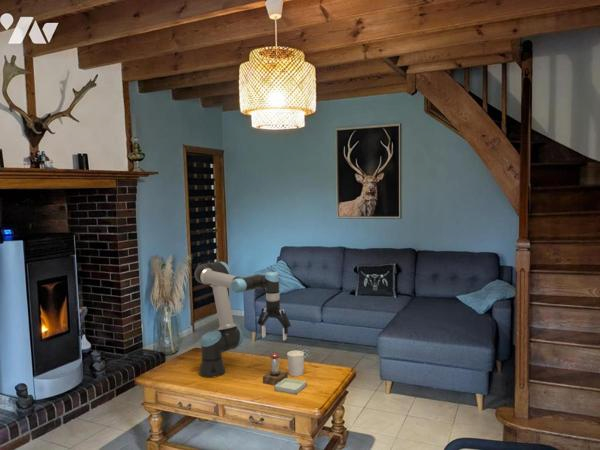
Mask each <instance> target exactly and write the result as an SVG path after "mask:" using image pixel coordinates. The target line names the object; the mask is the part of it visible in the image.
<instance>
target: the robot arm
mask: <svg viewBox="0 0 600 450" xmlns="http://www.w3.org/2000/svg"><path fill="white" fill-rule="evenodd" d="M194 278H195V281H197V282H198V283H200V284H203V285H209V286H210V287H211V288H212V293H213V297H214V303H215V307H216V313H217V318H218V323H219V327H218V328H217V330H213V331H207V332H205V333H203V334H202V336H201V339H200V347H201V364H200V368H199V370H198V371H199V373H200V374H199V376H200V375H202V376H201V377H203V376H207V377H206V378H214V377H213V376H217V377H219V376H218V375H220V376H223V375H224V374H225V373H226V366H225V363H224V361H223V354H222V353H225V352H227V351H231V350H235V349H237V348H238V347H240V346H241V344H242V343H243V339H244V337H243V332H242V330H241V328H239V327H238V326H237V324H236V323H234V317H233V311H232V308H231V303H230V298H229V292H228V289H230V290H232V291H233V292H234V293H235V294H237V293H244V292H248V291H252V290H257V289H264V290H265V299H266V301H265V302H266V304H265V305H266V307H263V308H261V312H260V315H259V318H258V320H257V325H259V326H260V332H261V337H262V338H265V337H267V333H266V330H267V329H266V323H267V321H268V320H269V319H270V318H276V319H277V320H278V322H279V323H280V324H281V326H282V327H283V328H282V341H285V340H287V339H288V338H287V337H288V332H289V328H290V327H291V322H290V320H289V318H288V316H287V314H286V309H284V308H283V309H280V307H281V302H280V301H281V300H280V298H281V295H280V276H279V272H278V271H268V272H265V273H264V274H260V273H253V274H251V275H249V276H245V277H242V276H237V275H232V274H231V269H230V267H229V265H228V264H227V263H226V262H224V261H214V262H208V263H203V264H200V265H198V266H197V267H196V269H195V271H194ZM266 313H267V314H266ZM265 314H266V315H265ZM222 374H223V375H222Z"/></svg>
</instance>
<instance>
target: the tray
mask: <svg viewBox="0 0 600 450" xmlns="http://www.w3.org/2000/svg"><path fill="white" fill-rule="evenodd" d="M306 387H307V381H304V380H299V379H294V378H289V377H288V378H285V379H283V380H282V381H280V382H279V383H278V384H276V385H273V388H274V389H273V390H274V391H275V392H279V393H285V394H288V395H289V394H290V395H293V396H296V395H298V394H299V393H300V392H301V391H302V390H304V389H305V388H306Z"/></svg>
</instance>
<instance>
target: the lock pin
mask: <svg viewBox="0 0 600 450" xmlns="http://www.w3.org/2000/svg"><path fill="white" fill-rule="evenodd" d="M269 356H270V357H269V358H270V364H271V365H270V366H271V367H270V368H271V370H270V371H272V376H275V377H277V376H279V368H280V366H279V357H280V354H279V353H278V352H271V353H270V355H269Z"/></svg>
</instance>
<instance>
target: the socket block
mask: <svg viewBox="0 0 600 450" xmlns="http://www.w3.org/2000/svg"><path fill="white" fill-rule="evenodd" d="M288 374H289V373H288V372H286V371H281V370H280V371H279V376H277V377H275V376H272V371H271V370H270V371H268V372H266V374H264V375H262V384H266V385H270V386H275V385H276V384H278V383H279V382H280V381H282V380H283V379H285V378H289V377H288V376H289V375H288Z"/></svg>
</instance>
